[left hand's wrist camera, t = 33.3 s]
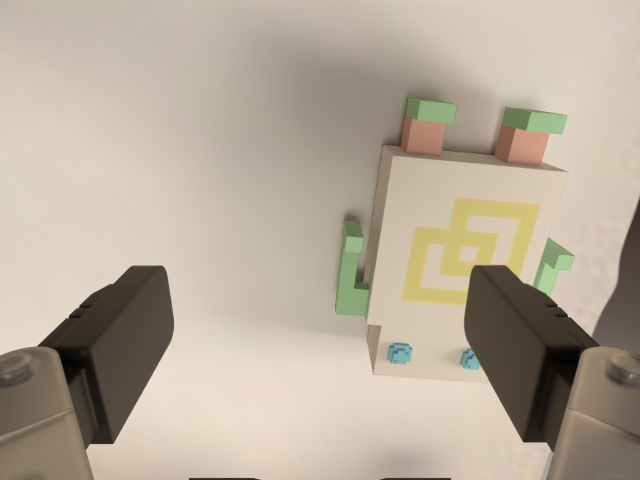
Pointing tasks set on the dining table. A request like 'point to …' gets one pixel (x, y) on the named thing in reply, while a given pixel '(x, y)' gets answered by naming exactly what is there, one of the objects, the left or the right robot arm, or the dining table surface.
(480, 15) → the dining table surface
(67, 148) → the dining table surface
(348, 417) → the dining table surface
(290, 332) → the dining table surface
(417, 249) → the decorative block
